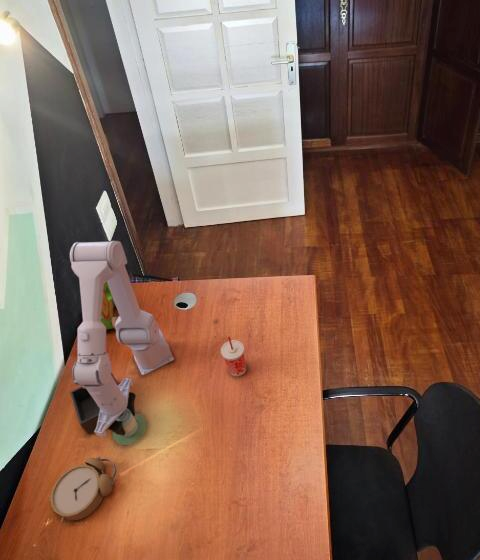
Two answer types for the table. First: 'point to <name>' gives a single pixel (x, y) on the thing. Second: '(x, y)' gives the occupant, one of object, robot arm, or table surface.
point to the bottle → (128, 423)
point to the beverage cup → (234, 357)
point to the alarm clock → (81, 489)
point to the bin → (86, 408)
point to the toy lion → (108, 308)
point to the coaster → (139, 433)
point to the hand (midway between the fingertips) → (126, 423)
